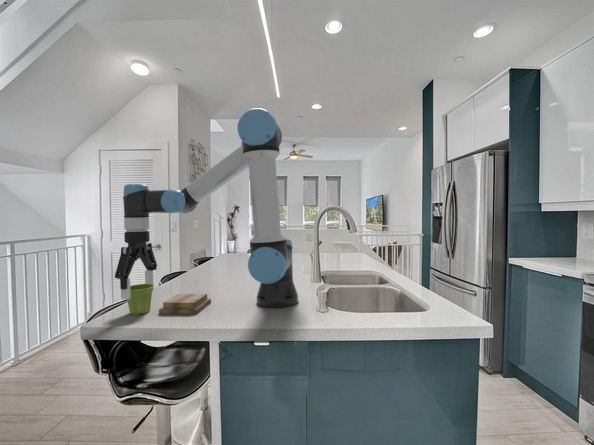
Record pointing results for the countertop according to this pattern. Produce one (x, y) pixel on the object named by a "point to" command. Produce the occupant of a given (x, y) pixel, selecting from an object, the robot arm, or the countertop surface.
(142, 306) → the plant pot
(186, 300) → the walnut stand
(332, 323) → the countertop surface
